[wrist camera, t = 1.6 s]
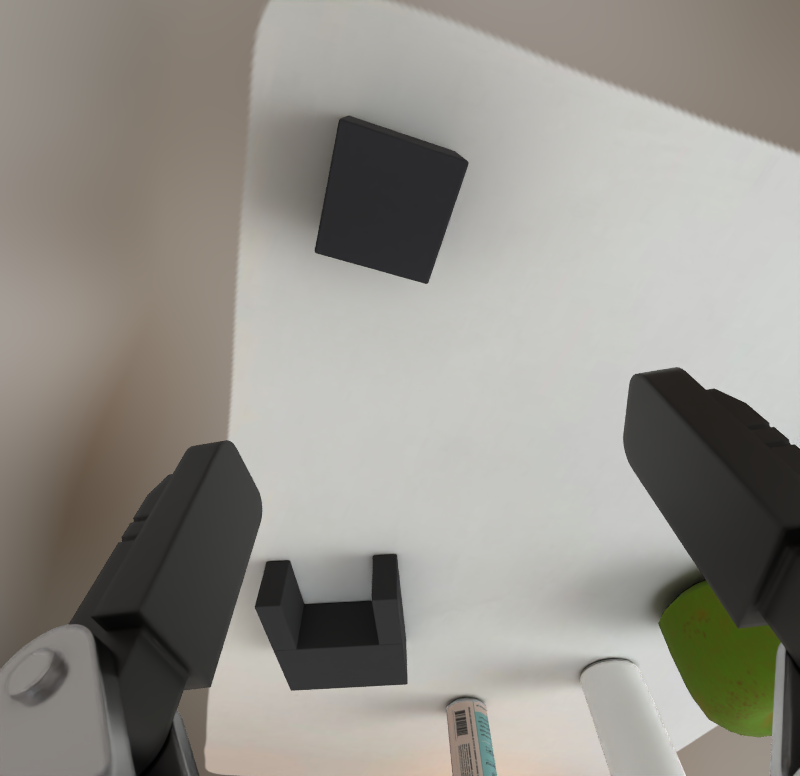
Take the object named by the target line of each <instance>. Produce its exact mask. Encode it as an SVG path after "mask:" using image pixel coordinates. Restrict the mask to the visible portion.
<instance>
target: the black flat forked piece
mask: <svg viewBox="0 0 800 776" xmlns="http://www.w3.org/2000/svg"><path fill="white" fill-rule="evenodd" d="M255 609H256V611H257V614H258V616H259V618H260V620H261V623H262V625H263V627H264V630H265V632H266V634H267V636H268V639H269V641H270V643H271V646H272V648H273V650H274V653H275V655H276V657H277V659H278V662H279V664H280V666H281V669H282V671H283V673H284V676H285V678H286V680H287V682H288V685H289V687H290V689H291V691H292V690H311V689H329V688H348V687H366V686H385V685H403V684H407V653H406V635H405V626H404V617H403V608H402V598H401V589H400V580H399V571H398V561H397V555H396V554H395V555H378V556H373V573H372V601H364V602H347V603H329V604H312V605H304V603H303V600H302V597H301V594H300V591H299V588H298V585H297V582H296V578H295V575H294V572H293V569H292V566H291V563H290V561H276V562H267V563H266V567H265V570H264V574H263V578H262V582H261V586H260V589H259V593H258V597H257V601H256V605H255Z"/></svg>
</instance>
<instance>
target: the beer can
mask: <svg viewBox="0 0 800 776" xmlns="http://www.w3.org/2000/svg"><path fill="white" fill-rule="evenodd" d="M446 712H447V721H448V732H449V742H450V753H451V763H452V773H453V776H497V772H496V766H495V760H494V754H493V748H492V741H491V735H490V729H489V723H488V717H487V711H486V706H485V704H483V703H482V702H480V701H479V700H477V699H475V698H460V699H457V700H454V701H453V702H452V703H451V704H450V705H449V706H448V707H447V709H446Z"/></svg>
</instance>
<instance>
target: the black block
mask: <svg viewBox="0 0 800 776" xmlns="http://www.w3.org/2000/svg"><path fill="white" fill-rule="evenodd" d="M467 167H468V161H467V160H465V159H464V158H463V157H461V156H460V155H459V154H458V153H456V152H455V151H452V150H449V149H446V148H443V147H440V146H437V145H434V144H431V143H429V142H426V141H423V140H420V139H417V138H414V137H411V136H408V135H405V134H402V133H399V132H396V131H393V130H390V129H387V128H384V127H381V126H378V125H375V124H372V123H369V122H366V121H363V120H360V119H357V118H354V117H351V116H347V117H344V118H342V119H340V120H339V123H338V128H337V134H336V139H335V145H334V150H333V155H332V161H331V166H330V171H329V177H328V182H327V187H326V193H325V198H324V204H323V209H322V214H321V220H320V225H319V230H318V236H317V241H316V247H315V252H316V253H318V254H321V255H325V256H328V257H332V258H336V259H339V260H343V261H346V262H350V263H354V264H357V265H361V266H364V267H368V268H371V269H375V270H379V271H382V272H386V273H389V274H393V275H397V276H400V277H404V278H407V279H411V280H414V281H418V282H422V283H425V284H427V283H428V282H429V279H430V276H431V273H432V270H433V267H434V264H435V261H436V258H437V255H438V252H439V250H440V247H441V244H442V241H443V238H444V235H445V232H446V229H447V226H448V223H449V220H450V217H451V214H452V211H453V208H454V205H455V202H456V199H457V196H458V193H459V190H460V187H461V184H462V182H463V179H464V176H465V173H466V170H467Z"/></svg>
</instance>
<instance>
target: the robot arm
mask: <svg viewBox="0 0 800 776" xmlns="http://www.w3.org/2000/svg"><path fill="white" fill-rule="evenodd" d="M623 442H624V449H625V453H626V456H627V459H628V462H629V464H630V466H631V467H632V469H633V471H634V472H635V474H636V475H637V477H638V478H639V480H640V481H641V483H642V484H643V486H644V487H645V489H646V490H647V492H648V493H649V495H650V496H651V498H652V499H653V501H654V502H655V504H656V505H657V507H658V508H659V510H660V511H661V513H662V514H663V516H664V517H665V519H666V520H667V522H668V523H669V525H670V526H671V528H672V530H673V531H674V533H675V534H676V536H677V537H678V539H679V540H680V542H681V543H682V545H683V546H684V548H685V549H686V551H687V552H688V554H689V555H690V557H691V558H692V560H693V561H694V563H695V564H696V566H697V567H698V569H699V570H700V572H701V573H702V575H703V576H704V578H705V579H706V581H707V582H708V584H709V585H710V587H711V588H712V590H713V591H714V593H715V594H716V596H717V598H718V599H719V601H720V602H721V604H722V605H723V607H724V608H725V610H726V611H727V613H728V614H729V616H730V617H731V619H732V620H733V622H734V623H735V625H736V626H737V628H747V627H756V626H764V625H769V626H770V628H771V629H772V630H773V632H774V633H775V635H776V636H777V637H778V639H779V640H780V641H781V643H780V645H779V647H778V649H777V654H776V672H775V690H774V708H773V726H772V744H771V765H770V776H800V449H799V448H798V447H797V446H796V445H795V444H794V445H791V444H790V443H789V439H788V438H786V437H785V436H784V435H783V434H782V433H780V432H779V431H778V430H777V429H776V428H775V427H770V426H769V422H767V421H766V420H765V419H764V418H763V417H762V416H760V415H759V414H758V413H757V412H756V411H755V410H753V409H752V408H751V407H750V406H749V405H747V404H746V403H744V402H742V401H740V400H738V399H736V398H734V397H731V396H729V395H727V394H725V393H723V392H721V391H719V390H716V389H709V390H705V389H704V388H703V387H702V386H701V385H700V384H699V383H698V382H697V381H696V380H694V379H693V378H692V377H691V376H690V375H689V374H688V373H687V372H686V371H684V370H683V369H681V368H678V367H675V368H669V369H663V370H657V371H651V372H645V373H639V374H635V375H633V377H632V378H631V380H630V384H629V392H628V400H627V409H626V417H625V426H624V434H623ZM261 518H262V501H261V496H260V493H259V491H258V489H257V487H256V485H255V483H254V481H253V479H252V477H251V475H250V473H249V471H248V469H247V467H246V466H245V464H244V462H243V460H242V458H241V456H240V454H239V452H238V450H237V448H236V447H235V445H234V444H233V443H232V442H230V441H227V440H226V441H220V442H214V443H209V444H203V445H196V446H191V447H190V448H188V449H187V451H186V452H185V454H184V456H183V457H182V459H181V461H180V463H179V464H178V466H177V468H176V470H175V471H174V473H173V474H171V475H168V476H167V477H166V478H165V479H164V480H163V481H162V482H161V483H160V484H159V485H158V486H157V487H156V488H154V489H153V490H152V491H151V493H149V494H148V495H147V497H146V499H145V500H144V502H143V503H142V505H141V507H140V508H139V510H138V511H137V513H136V515H135V516H134V518H133V519H134V522H133V523H130V525H129V527H128V528H127V530H126V531H125V533H124V535H123V536H122V542H120V543H118V544H117V546H116V548H115V549H114V551H113V552H112V554H111V556H110V557H109V559H108V561H107V562H106V564H105V566H104V567H103V569H102V570H101V572H100V574H99V575H98V577H97V579H96V581H95V582H94V584H93V585H92V587H91V589H90V590H89V592H88V593H87V595H86V597H85V598H84V600H83V602H82V603H81V605H80V607H79V608H78V610H77V611H76V613H75V615H74V616H73V618H72V620H71V621H70V623H69V624H68V625H64V626H61V627H58V628H55V629H52V630H50V631H48V632H46V633H44V634H43V635H41V636H39V637H37V638H36V639H34V640H33V641H31V642H30V643H28V644H27V645H26V646H24V647H23V648H22V649H21V650H19V651H18V652H17V653H16V654H15V655H14V656H13V657H12V658H11V659H10V660H9V661H8V662H7V663H6V664H5V665H4V666H3V667H2V668H1V669H0V776H199V773H198V770H197V766H196V763H195V760H194V756H193V752H192V749H191V746H190V742H189V739H188V736H187V732H186V729H185V726H184V722H183V719H182V717H181V715H180V713H179V712H178V711H177V707H178V705H179V701H180V699H181V696H182V693H183V690H190V689H198V688H207V687H211V684H212V681H213V677H214V674H215V671H216V668H217V664H218V661H219V658H220V654H221V651H222V648H223V644H224V641H225V638H226V635H227V631H228V628H229V625H230V621H231V618H232V615H233V611H234V608H235V605H236V602H237V598H238V595H239V592H240V588H241V585H242V582H243V578H244V575H245V572H246V569H247V565H248V562H249V559H250V555H251V552H252V549H253V546H254V542H255V539H256V536H257V532H258V529H259V526H260V522H261Z"/></svg>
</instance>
